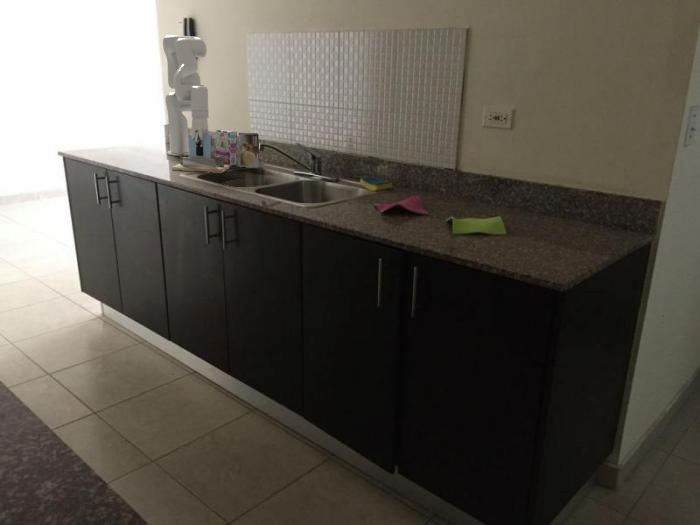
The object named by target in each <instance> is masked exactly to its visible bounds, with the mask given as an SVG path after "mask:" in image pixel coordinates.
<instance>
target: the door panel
mask: <svg viewBox="0 0 700 525" xmlns="http://www.w3.org/2000/svg"><path fill="white" fill-rule="evenodd" d="M213 137H214V135H213V134H209V133H208V134H207V135H204V140H202V147H203V156H197V155H196V143H195V140H193V139H192V133H188V145H189V157H190V158H206V159H214V158H215V156H216V151H214V146H215V138H213ZM198 140H200V139H198ZM199 142H200V141H199Z"/></svg>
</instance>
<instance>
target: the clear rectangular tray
mask: <svg viewBox="0 0 700 525" xmlns="http://www.w3.org/2000/svg"><path fill="white" fill-rule="evenodd" d="M230 167H231V168H232V166H231V165H229V164H224V156H220V157H218V156H216V155H215V158H214V159H206V158H190V157H189V155H187V157H186V156H184V154H183V153H180V156H179V163H178V164H175V165H173V166H171V170H172V171H179V170H183V171H182V172H194V171H208V172H207V173H210V172H212V174H222V173H224V172H226V171H228V170H229V169H231V168H230ZM227 169H228V170H227Z"/></svg>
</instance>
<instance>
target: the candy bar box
mask: <svg viewBox="0 0 700 525" xmlns="http://www.w3.org/2000/svg"><path fill="white" fill-rule="evenodd" d="M237 133H238V131H236V130H235V131H234V130H228V129H215V149H216V151H215V156H218V157H220V156H224V164H229V165H231V167H235V166H234V165H236V166H238V139H237V138H238V137H237V136H238V134H237Z"/></svg>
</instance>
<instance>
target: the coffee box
mask: <svg viewBox="0 0 700 525" xmlns="http://www.w3.org/2000/svg"><path fill="white" fill-rule="evenodd" d="M259 137H260V136H259V133H258V132H238V157H239V158H238V159H239V165H240V166H239V167H240V168H241V167H246V168H245V169H254V168H255V169H260V143H259V142H260V139H259Z"/></svg>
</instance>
